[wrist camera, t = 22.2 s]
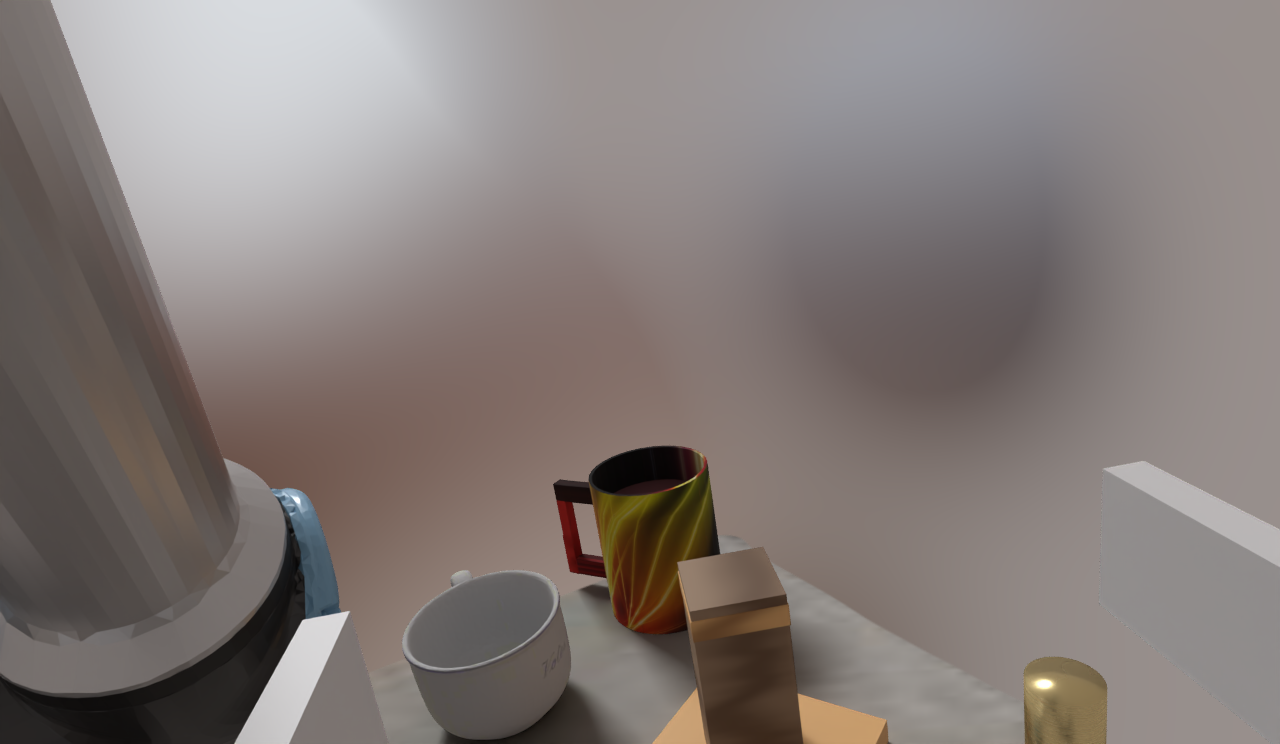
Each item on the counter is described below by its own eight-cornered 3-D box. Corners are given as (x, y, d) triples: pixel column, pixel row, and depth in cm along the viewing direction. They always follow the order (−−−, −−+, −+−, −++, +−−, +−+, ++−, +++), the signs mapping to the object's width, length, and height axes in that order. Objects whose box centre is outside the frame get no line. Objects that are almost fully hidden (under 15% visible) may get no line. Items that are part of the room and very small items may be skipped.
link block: (718, 801, 41) (688, 612, 38) (703, 734, 46) (676, 561, 43) (809, 784, 42) (787, 594, 38) (784, 719, 46) (763, 546, 43)
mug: (573, 578, 69) (549, 458, 66) (723, 563, 68) (706, 439, 65) (554, 644, 60) (525, 508, 57) (727, 628, 59) (708, 488, 55)
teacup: (592, 736, 50) (571, 632, 48) (425, 789, 48) (395, 682, 45) (560, 622, 63) (542, 537, 61) (428, 660, 61) (405, 572, 59)
